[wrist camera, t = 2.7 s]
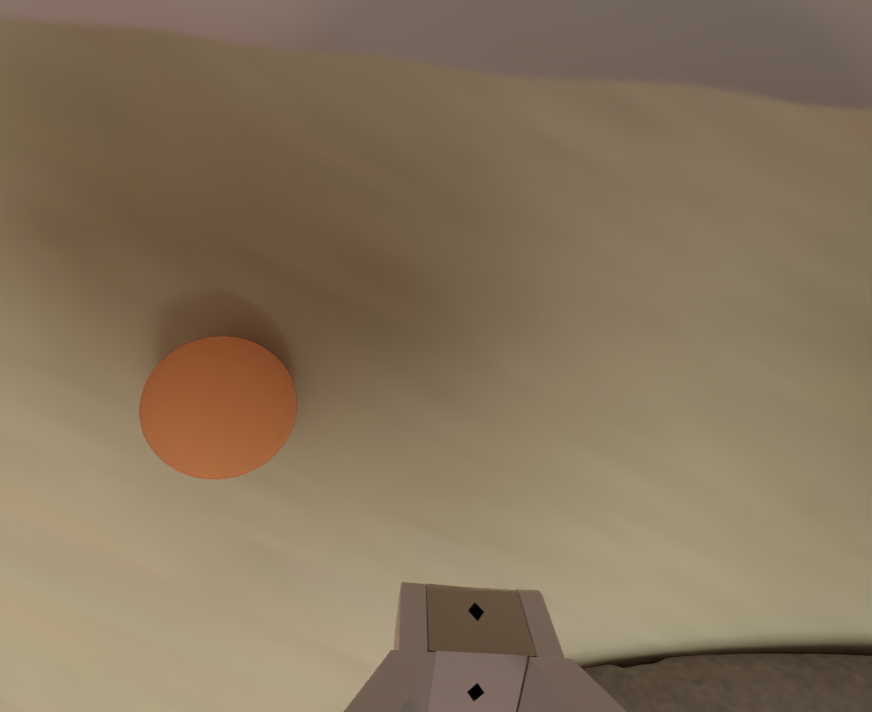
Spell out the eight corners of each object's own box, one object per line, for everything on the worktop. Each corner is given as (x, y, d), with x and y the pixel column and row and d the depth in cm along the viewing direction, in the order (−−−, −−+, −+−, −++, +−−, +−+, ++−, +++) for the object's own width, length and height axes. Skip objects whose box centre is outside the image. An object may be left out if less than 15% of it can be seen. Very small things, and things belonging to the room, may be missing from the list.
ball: (314, 330, 20) (272, 368, 14) (309, 443, 21) (269, 516, 16) (185, 316, 19) (94, 350, 14) (190, 432, 21) (109, 502, 16)
